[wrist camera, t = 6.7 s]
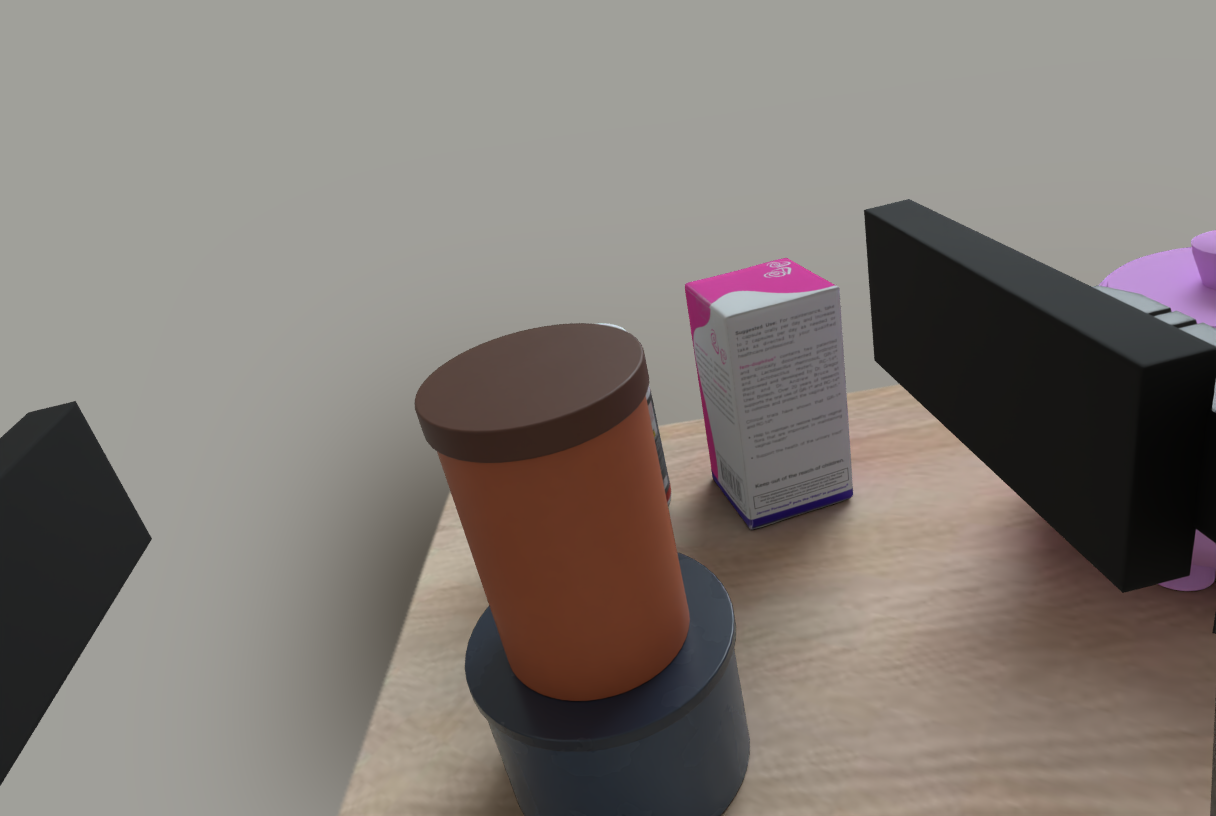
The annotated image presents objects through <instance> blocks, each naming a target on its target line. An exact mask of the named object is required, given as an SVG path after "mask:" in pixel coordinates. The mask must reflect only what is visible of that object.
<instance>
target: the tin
mask: <svg viewBox="0 0 1216 816" xmlns="http://www.w3.org/2000/svg"><path fill="white" fill-rule="evenodd" d="M677 554H678V559H679V564H680V569H681V574H682V579H683V584H684V589H685V594H686V599H687V604H688V609H689V617H690V622H689V630H688V633H687V637H686V639H685V642H684V644H683V646H682V648H681V649H680V651H679V652H678V654H677V655H676V657H675V658H674V659H673V660H672V661H671V663H670V664H669V665H668V666H667V667H666V668H664V669H663V670H662V671H661V672H660V673H659V674H657V675H656V676H655V677H653V678H652V679H650V680H649V681H647V682H645V683H644V684H642V685H640V686H638V687H636V688H634V689H632V690H630V691H627V692H625V693H622V694H619V695H616V696H612V697H608V698H604V699H598V700H590V701H568V700H560V699H555V698H551V697H548V696H545V695H542V694H539V693H537V692H536V691H534V690H532V689H530V688H529V687H527V686H526V685H525V684H523V683H522V682H521V681H520V680H519V679H518V678H517V677H516V675H515V674H514V672H513V671H512V669H511V667H510V664H509V662H508V659H507V656H506V653H505V650H504V647H503V644H502V641H501V638H500V635H499V632H498V629H497V626H496V623H495V620H494V618H493V615H492V612H491V609H490V606H488V608H487V609H486V610H485V612H484V613H483V614H482V616H481V617H480V619H479V621H478V622H477V624H476V626H475V628H474V629H473V632H472V634H471V637H470V639H469V642H468V646H467V651H466V656H465V673H466V680H467V683H468V686H469V689H470V692H471V695H472V698H473V700H474V702H475V704H476V706H477V707H478V709H479V711H480V712H481V713H482V715H483V716H484V717H485V718H486V719H487V721H488V723H489V725H490V728H491V731H492V734H493V736H494V739H495V742H496V744H497V747H498V750H499V752H500V755H501V758H502V761H503V763H504V766H505V769H506V771H507V774H508V777H509V779H510V782H511V785H512V788H513V790H514V793H515V796H516V798H517V801H518V804H519V806H520V808H521V810H522V812H523V814H524V816H720V815H721V814H722V813H723V812H724V811H725V809H726V808H727V807H728V806H729V804H730V803H731V801H732V800H733V798H734V797H735V795H736V793H737V791H738V789H739V787H740V785H741V783H742V781H743V779H744V776H745V773H746V769H747V766H748V760H749V754H750V738H749V732H748V726H747V720H746V714H745V708H744V703H743V697H742V691H741V685H740V680H739V674H738V668H737V662H736V657H735V651H734V645H735V641H736V623H735V617H734V611H733V605H732V603H731V600H730V597H729V594H728V593H727V591H726V589H725V588H724V586H723V584H722V583H721V582H720V581H719V579H718V578H717V577H716V576H715V575H714V574H713V573H712V572H711V571H710V570H708V569H707V568H706V567H705V566H704V565H702V564H700V563H699V562H697V561H696V560H694V559H692V558H690V557H688V556H685V555H683V554H681V553H678V552H677Z"/></svg>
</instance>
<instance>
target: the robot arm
mask: <svg viewBox="0 0 1216 816" xmlns="http://www.w3.org/2000/svg"><path fill="white" fill-rule="evenodd" d="M864 215H865V229H866V244H867V258H868V273H869V287H870V300H871V301H870V302H871V316H872V329H873V345H874V359H875V361H876V362H877V363H878V364H879V365H880V366H881V367H882V368H883V369H884V370H885V371H886V372H888V373H889V374H890V375H891V376H892V377H893V378H894V379H895V380H896V381H897V382H898V383H899V384H900V385H901V386H902V387H904V388H905V389H906V390H907V391H908V392H909V393H910V394H911V395H912V396H913V397H914V398H915V399H916V400H917V401H918V402H920V403H921V404H922V405H923V406H924V407H925V408H926V409H927V410H928V411H929V412H930V413H931V414H932V415H933V416H935V417H936V418H937V419H938V420H939V421H940V422H941V423H942V424H943V425H944V426H945V427H946V428H947V429H948V430H949V431H951V432H952V433H953V434H954V435H955V436H956V437H957V438H958V439H959V440H960V441H961V442H962V443H963V444H964V445H965V446H967V447H968V448H969V449H970V450H971V451H972V452H973V453H974V454H975V455H976V456H977V457H978V458H979V459H980V460H981V461H983V462H984V463H985V464H986V465H987V466H988V467H989V468H990V469H991V470H992V471H993V472H994V473H995V474H996V475H998V476H999V477H1000V478H1001V479H1002V480H1003V481H1004V482H1005V483H1006V484H1007V485H1008V486H1009V487H1010V488H1011V489H1012V490H1014V491H1015V492H1016V493H1017V494H1018V495H1019V496H1020V497H1021V498H1022V499H1023V500H1024V501H1025V502H1026V503H1027V504H1028V505H1030V506H1031V507H1032V508H1033V509H1034V510H1035V511H1036V512H1037V513H1038V514H1039V515H1040V516H1041V517H1042V518H1043V519H1044V520H1046V521H1047V522H1048V523H1049V524H1050V525H1051V526H1052V527H1053V528H1054V529H1055V530H1056V531H1057V532H1058V533H1059V534H1061V535H1062V536H1063V537H1064V538H1065V539H1066V540H1067V541H1068V542H1069V543H1070V544H1071V545H1072V546H1073V547H1074V548H1075V549H1077V550H1078V551H1079V552H1080V553H1081V554H1082V555H1083V556H1084V557H1085V558H1086V559H1087V560H1088V561H1089V562H1090V563H1091V564H1093V565H1094V566H1095V567H1096V568H1097V569H1098V570H1099V571H1100V572H1101V573H1102V574H1103V575H1104V576H1105V577H1106V578H1108V579H1109V580H1110V581H1111V582H1112V583H1113V584H1114V585H1115V586H1116V587H1117V588H1118V589H1119V590H1120V591H1121V592H1122V593H1124V592H1128V591H1132V590H1136V589H1140V588H1144V587H1147V586H1151V585H1155V584H1159V583H1163V582H1167V581H1171V580H1175V579H1179V578H1183V577H1187V576H1190V570H1191V563H1192V555H1193V548H1194V540H1195V533H1196V529H1197V530H1198V531H1200V532H1201V533H1202V534H1204V535H1205V536H1206V537H1208V538H1209V539H1210V540H1212V541H1213V542H1214V543H1216V328H1214V327H1212V326H1210V325H1207V324H1205V323H1199V324H1197V322H1196V319H1194V318H1192V317H1190V316H1188V315H1185V314H1183V313H1181V312H1179V311H1173V312H1172V311H1171V308H1170V307H1168V306H1166V305H1163V304H1161V303H1159V302H1157V301H1155V300H1152V299H1150V298H1148V297H1146V296H1144V295H1141V294H1138V293H1134V292H1129V291H1124V290H1119V289H1114V288H1109V287H1104V286H1099V285H1098V286H1094V287H1091V286H1089V285H1087V284H1085V283H1083V282H1081V281H1079V280H1076V279H1074V278H1072V277H1070V276H1068V275H1066V274H1064V273H1062V272H1060V271H1058V270H1056V269H1053V268H1051V267H1049V266H1047V265H1045V264H1043V263H1041V262H1039V261H1037V260H1035V259H1032V258H1031V257H1028V256H1026V255H1024V254H1022V253H1020V252H1018V251H1016V250H1014V249H1012V248H1010V247H1008V246H1005V245H1003V244H1001V243H999V242H997V241H995V240H993V239H991V238H989V237H987V236H985V235H983V234H981V233H979V232H976V231H974V230H972V229H970V228H968V227H966V226H964V225H962V224H960V223H958V222H956V221H954V220H951V219H949V218H947V217H945V216H943V215H941V214H938V213H937V212H935V211H933V210H931V209H929V208H926V207H924V206H922V205H920V204H918V203H916V202H914V201H912V200H910V199H908V200H903V201H899V202H895V203H891V204H887V205H884V206H879V207H875V208H870V209H866V210H864ZM151 539H152V538H151V536H150V535H149V533H148V531H147V529H146V528H145V526H144V524H143V522H142V520H141V518H140V517H139V515H138V513H137V511H136V510H135V508H134V506H133V504H132V502H131V501H130V499H129V497H128V495H127V493H126V491H125V490H124V488H123V486H122V484H121V482H120V480H119V479H118V477H117V475H116V473H115V471H114V470H113V468H112V466H111V464H110V463H109V461H108V459H107V457H106V455H105V453H104V452H103V450H102V448H101V446H100V444H99V443H98V441H97V439H96V437H95V435H94V434H93V432H92V430H91V428H90V426H89V425H88V423H87V421H86V419H85V417H84V416H83V414H82V412H81V410H80V408H79V407H78V405H77V403H76V401H74V402H70V403H66V404H62V405H58V406H54V407H49V408H46V409H41V410H37V411H33V412H29V413H27V414H26V415H25V416H24V417H23V418H22V419H21V420H20V421H19V422H18V423H16V424H15V425H14V426H13V427H12V428H11V429H10V430H9V431H8V432H7V433H5V434H4V435H3V436H2V437H1V438H0V785H1V784H2V782H3V781H4V778H5V777H6V776H7V774H8V772H9V771H10V769H11V767H12V766H13V764H14V763H15V761H16V759H17V758H18V756H19V754H20V753H21V751H22V750H23V748H24V746H25V745H26V743H27V741H28V740H29V738H30V736H31V735H32V733H33V732H34V730H35V728H36V727H37V725H38V723H39V722H40V720H41V718H42V717H43V715H44V714H45V712H46V710H47V709H48V707H49V706H50V704H51V702H52V701H53V699H54V697H55V696H56V694H57V693H58V691H59V689H60V688H61V686H62V684H63V683H64V681H65V680H66V678H67V676H68V674H69V673H70V671H71V670H72V668H73V666H74V665H75V663H76V661H77V660H78V658H79V657H80V655H81V653H82V652H83V650H84V649H85V647H86V645H87V644H88V642H89V640H90V639H91V637H92V635H93V634H94V632H95V631H96V629H97V627H98V626H99V624H100V622H101V621H102V619H103V618H104V616H105V614H106V612H107V611H108V609H109V608H110V606H111V604H112V603H113V601H114V599H115V598H116V596H117V595H118V593H119V592H120V590H121V588H122V587H123V585H124V583H125V582H126V580H127V579H128V577H129V575H130V574H131V572H132V570H133V569H134V567H135V565H136V564H137V562H138V561H139V559H140V557H141V556H142V554H143V552H144V551H145V549H146V548H147V546H148V544H149V543H150V541H151ZM1213 633H1215V634H1216V614H1215V620H1214V627H1213ZM1210 816H1216V700H1215V722H1214V744H1213V767H1212V789H1211V811H1210Z"/></svg>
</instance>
